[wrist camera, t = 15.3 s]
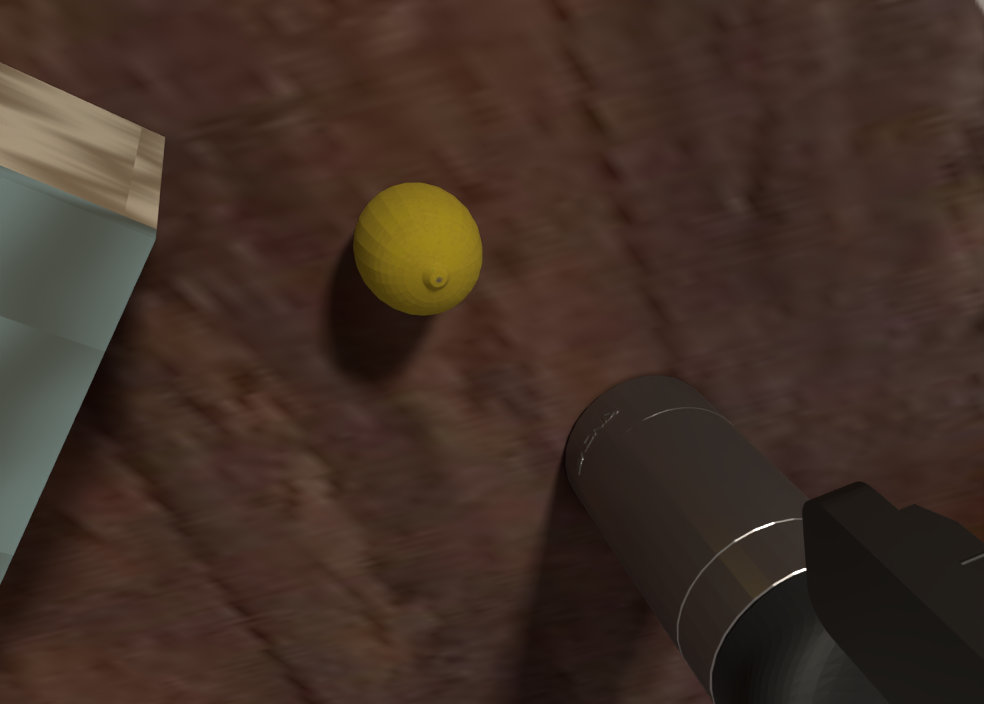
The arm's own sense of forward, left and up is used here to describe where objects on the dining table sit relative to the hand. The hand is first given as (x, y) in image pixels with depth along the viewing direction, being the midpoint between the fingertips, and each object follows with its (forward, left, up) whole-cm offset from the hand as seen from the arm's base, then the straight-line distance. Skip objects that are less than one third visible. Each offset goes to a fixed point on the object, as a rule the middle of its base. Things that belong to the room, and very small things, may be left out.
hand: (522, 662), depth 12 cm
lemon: (-7, +2, -34) cm, 35 cm away
